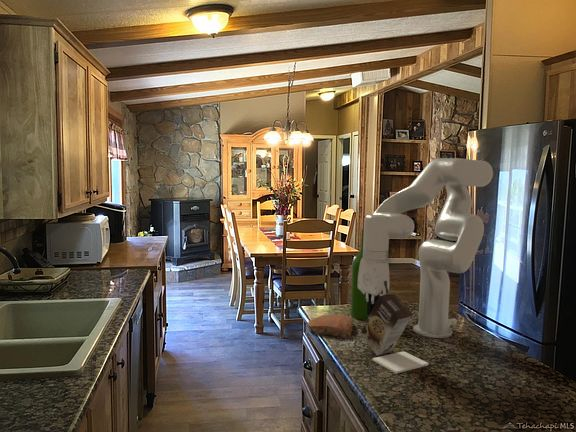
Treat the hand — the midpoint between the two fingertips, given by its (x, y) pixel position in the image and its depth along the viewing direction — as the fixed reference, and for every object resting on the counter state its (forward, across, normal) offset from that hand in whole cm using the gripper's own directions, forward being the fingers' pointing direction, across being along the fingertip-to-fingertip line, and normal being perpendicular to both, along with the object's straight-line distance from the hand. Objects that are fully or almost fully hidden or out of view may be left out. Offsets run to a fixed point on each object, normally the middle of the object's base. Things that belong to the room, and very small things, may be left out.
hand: (372, 315), depth 148 cm
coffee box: (+9, +1, 0) cm, 9 cm away
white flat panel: (+10, +12, +1) cm, 16 cm away
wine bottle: (+10, -28, +18) cm, 35 cm away
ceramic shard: (+11, -20, -1) cm, 23 cm away
